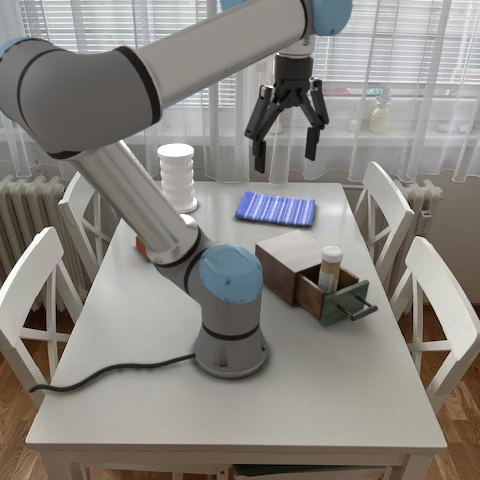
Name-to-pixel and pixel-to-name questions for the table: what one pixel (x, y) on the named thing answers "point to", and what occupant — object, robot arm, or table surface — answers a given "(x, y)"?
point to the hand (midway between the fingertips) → (285, 165)
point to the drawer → (333, 297)
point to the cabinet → (287, 261)
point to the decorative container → (178, 176)
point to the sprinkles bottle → (330, 269)
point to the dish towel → (276, 209)
